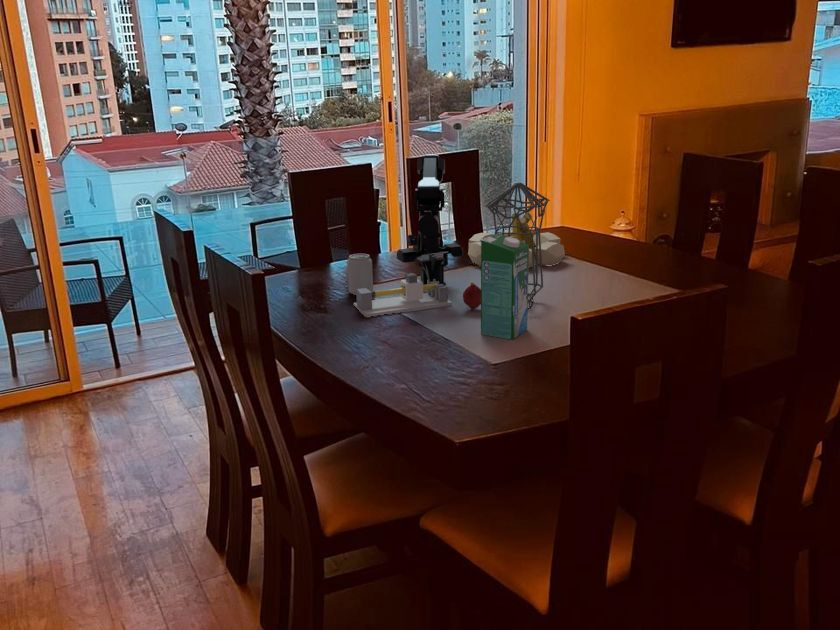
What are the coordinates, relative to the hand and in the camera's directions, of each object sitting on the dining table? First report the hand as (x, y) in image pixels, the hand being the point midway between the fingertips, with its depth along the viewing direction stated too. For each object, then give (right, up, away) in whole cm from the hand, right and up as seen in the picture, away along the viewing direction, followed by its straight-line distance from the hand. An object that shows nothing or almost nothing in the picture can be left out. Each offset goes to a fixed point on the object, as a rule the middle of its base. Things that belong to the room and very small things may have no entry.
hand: (430, 281), depth 222 cm
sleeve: (-5, -5, -1) cm, 7 cm away
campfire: (+31, +10, +50) cm, 60 cm away
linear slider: (-8, -7, -1) cm, 11 cm away
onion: (+12, -8, -6) cm, 16 cm away
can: (-21, -3, +13) cm, 25 cm away
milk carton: (+19, -14, -25) cm, 34 cm away
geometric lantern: (+25, -6, -1) cm, 26 cm away
